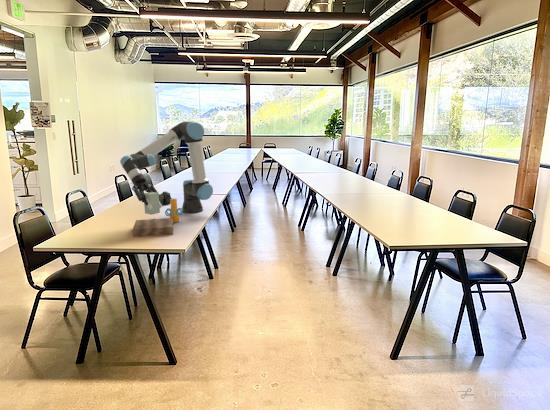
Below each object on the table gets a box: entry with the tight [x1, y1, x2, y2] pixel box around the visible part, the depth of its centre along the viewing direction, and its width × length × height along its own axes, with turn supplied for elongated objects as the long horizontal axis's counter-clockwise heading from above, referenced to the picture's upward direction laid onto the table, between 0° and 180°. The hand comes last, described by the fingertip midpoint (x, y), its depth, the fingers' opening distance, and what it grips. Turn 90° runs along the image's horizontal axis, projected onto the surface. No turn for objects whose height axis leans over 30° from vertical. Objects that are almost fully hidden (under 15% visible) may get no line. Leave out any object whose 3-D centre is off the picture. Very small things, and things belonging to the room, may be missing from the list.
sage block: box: [143, 192, 161, 215], centre depth 226 cm, size 6×6×12 cm
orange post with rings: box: [164, 198, 184, 223], centre depth 250 cm, size 12×10×15 cm
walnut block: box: [132, 217, 174, 238], centre depth 230 cm, size 22×22×5 cm
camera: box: [159, 190, 173, 206], centre depth 307 cm, size 13×10×10 cm
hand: (155, 207), depth 225 cm, fingers closed on sage block, 6 cm apart
